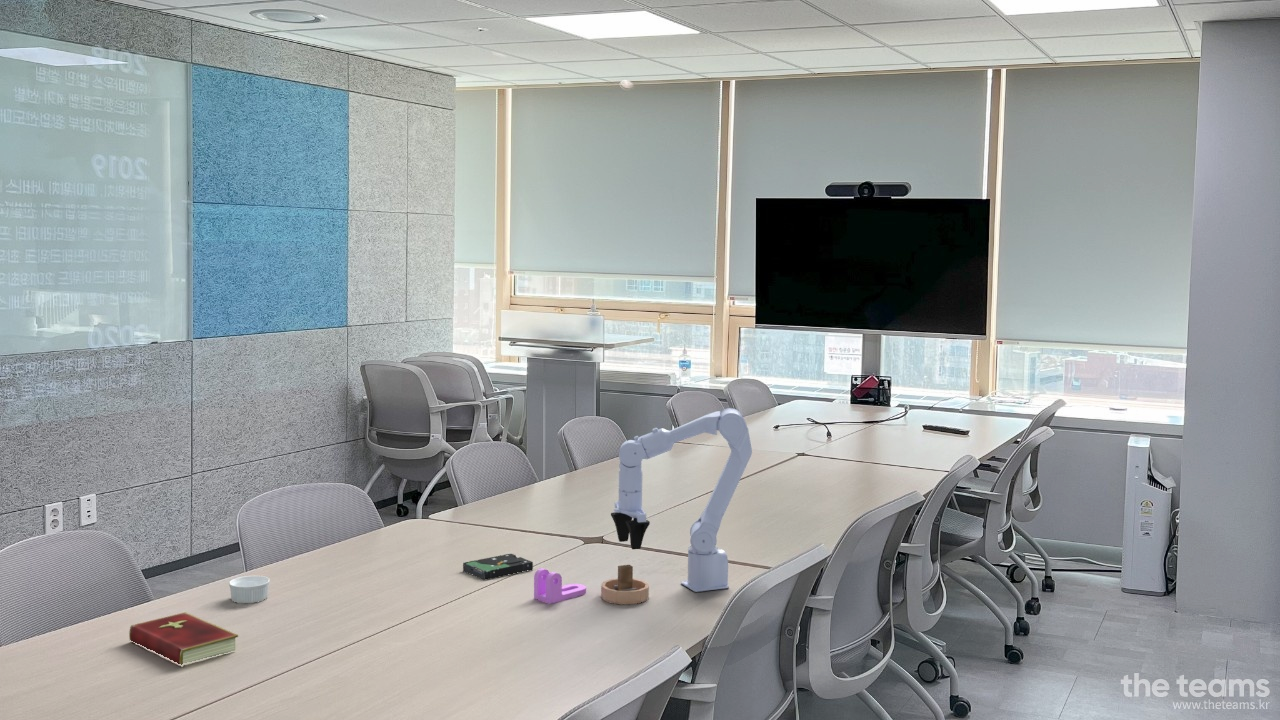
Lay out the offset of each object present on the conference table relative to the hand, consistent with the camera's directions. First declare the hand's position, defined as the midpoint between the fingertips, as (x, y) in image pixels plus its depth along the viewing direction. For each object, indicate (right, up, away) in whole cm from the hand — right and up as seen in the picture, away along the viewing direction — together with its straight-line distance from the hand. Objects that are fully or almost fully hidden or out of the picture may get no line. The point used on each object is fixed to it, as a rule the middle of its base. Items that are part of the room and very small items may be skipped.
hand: (629, 545), depth 273 cm
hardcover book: (-90, -14, -47) cm, 102 cm away
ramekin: (-88, -10, -15) cm, 89 cm away
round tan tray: (-1, -11, -9) cm, 14 cm away
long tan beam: (-1, -10, -9) cm, 14 cm away
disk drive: (-34, -9, +12) cm, 37 cm away
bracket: (-16, -11, -8) cm, 21 cm away
